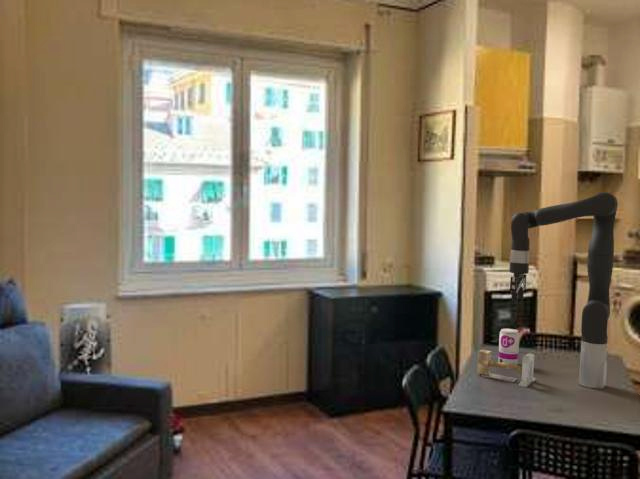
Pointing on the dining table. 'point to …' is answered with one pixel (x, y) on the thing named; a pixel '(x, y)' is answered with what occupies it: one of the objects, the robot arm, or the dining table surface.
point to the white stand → (526, 372)
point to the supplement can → (508, 346)
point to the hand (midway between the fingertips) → (517, 300)
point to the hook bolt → (492, 363)
